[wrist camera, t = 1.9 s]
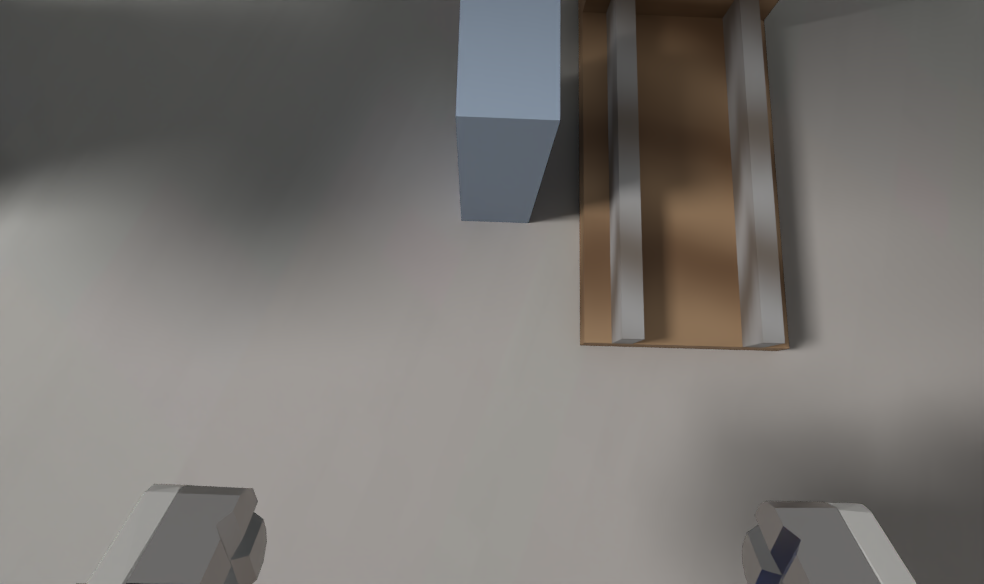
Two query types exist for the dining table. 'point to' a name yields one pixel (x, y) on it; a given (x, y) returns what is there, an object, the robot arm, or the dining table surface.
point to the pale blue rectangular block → (506, 104)
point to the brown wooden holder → (678, 177)
